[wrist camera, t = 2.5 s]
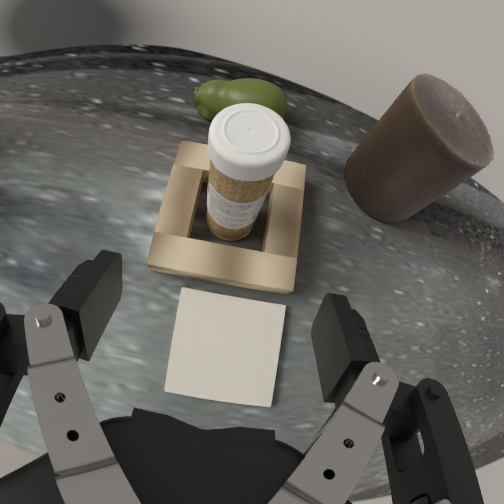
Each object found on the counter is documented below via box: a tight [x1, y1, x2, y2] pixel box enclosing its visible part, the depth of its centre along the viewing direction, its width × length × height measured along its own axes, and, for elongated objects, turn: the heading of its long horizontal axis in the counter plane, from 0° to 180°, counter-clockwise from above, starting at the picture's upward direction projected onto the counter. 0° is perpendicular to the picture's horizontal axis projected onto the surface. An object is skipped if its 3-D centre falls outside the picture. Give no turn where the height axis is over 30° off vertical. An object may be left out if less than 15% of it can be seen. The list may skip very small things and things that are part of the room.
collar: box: [147, 140, 306, 295], centre depth 27 cm, size 12×12×2 cm
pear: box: [193, 78, 287, 120], centre depth 30 cm, size 6×5×10 cm
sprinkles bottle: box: [206, 103, 291, 241], centre depth 22 cm, size 5×5×14 cm
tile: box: [164, 287, 286, 407], centre depth 25 cm, size 9×9×1 cm
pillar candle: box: [345, 74, 494, 224], centre depth 26 cm, size 10×10×15 cm
